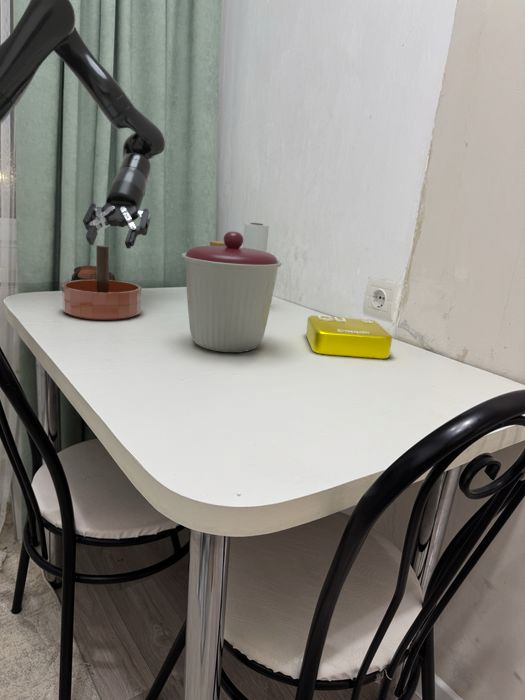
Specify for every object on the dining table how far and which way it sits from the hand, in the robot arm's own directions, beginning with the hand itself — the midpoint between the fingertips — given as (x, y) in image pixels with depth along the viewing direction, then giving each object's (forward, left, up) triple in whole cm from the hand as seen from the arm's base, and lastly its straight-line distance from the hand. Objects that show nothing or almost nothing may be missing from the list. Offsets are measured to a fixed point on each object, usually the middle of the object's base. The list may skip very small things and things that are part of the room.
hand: (108, 244), depth 111 cm
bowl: (0, -3, -15) cm, 15 cm away
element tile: (+53, -9, -15) cm, 56 cm away
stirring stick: (0, -3, -14) cm, 15 cm away
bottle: (+18, +32, -15) cm, 40 cm away
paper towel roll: (+30, +21, -15) cm, 40 cm away
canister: (+30, -18, -15) cm, 39 cm away
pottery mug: (-11, +16, -15) cm, 24 cm away
